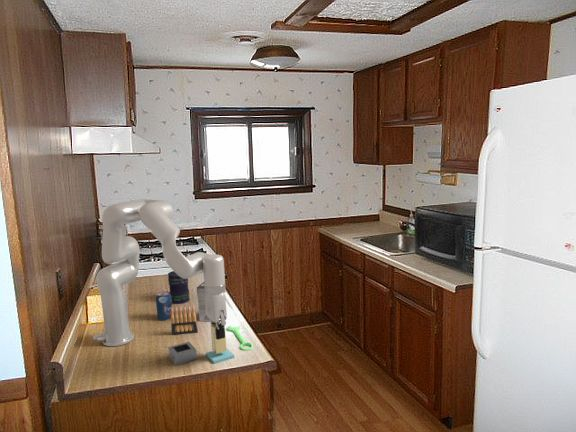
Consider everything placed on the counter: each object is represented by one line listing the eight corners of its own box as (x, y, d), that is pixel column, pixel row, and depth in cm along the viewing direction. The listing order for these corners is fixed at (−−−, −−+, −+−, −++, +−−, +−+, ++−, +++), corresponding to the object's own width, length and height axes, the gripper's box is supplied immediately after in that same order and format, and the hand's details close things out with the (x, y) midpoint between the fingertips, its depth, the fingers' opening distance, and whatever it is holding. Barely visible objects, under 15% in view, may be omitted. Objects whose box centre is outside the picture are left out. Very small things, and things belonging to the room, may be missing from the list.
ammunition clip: (171, 335, 188) (169, 308, 187) (172, 333, 190) (169, 306, 188) (197, 332, 190) (195, 305, 188) (197, 331, 192) (195, 304, 190)
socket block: (175, 365, 162) (174, 355, 161) (169, 357, 169) (168, 347, 168) (196, 359, 166) (195, 349, 165) (189, 351, 173) (188, 341, 172)
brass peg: (216, 353, 164) (214, 328, 163) (212, 349, 168) (210, 324, 166) (226, 350, 166) (224, 325, 165) (222, 347, 170) (220, 322, 168)
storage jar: (166, 303, 227) (163, 275, 224) (175, 297, 236) (173, 269, 234) (184, 304, 224) (182, 275, 222) (193, 298, 234) (190, 270, 231)
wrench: (238, 327, 196) (226, 330, 194) (237, 323, 195) (226, 325, 193) (255, 350, 172) (242, 352, 171) (255, 345, 172) (241, 347, 170)
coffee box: (206, 313, 211) (204, 280, 209) (219, 314, 210) (217, 281, 207) (199, 321, 202) (196, 287, 200) (212, 321, 201) (209, 287, 198)
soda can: (168, 321, 204) (166, 296, 202) (154, 320, 205) (152, 295, 203) (175, 315, 210) (173, 291, 208) (162, 315, 212) (159, 290, 210)
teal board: (214, 363, 162) (213, 361, 162) (206, 355, 169) (205, 352, 169) (234, 357, 166) (234, 355, 166) (225, 349, 173) (225, 347, 173)
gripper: (197, 285, 168) (200, 331, 171) (214, 297, 154) (217, 347, 157) (216, 281, 172) (219, 326, 175) (234, 292, 158) (237, 341, 161)
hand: (218, 335), depth 166 cm, fingers closed on brass peg, 3 cm apart
